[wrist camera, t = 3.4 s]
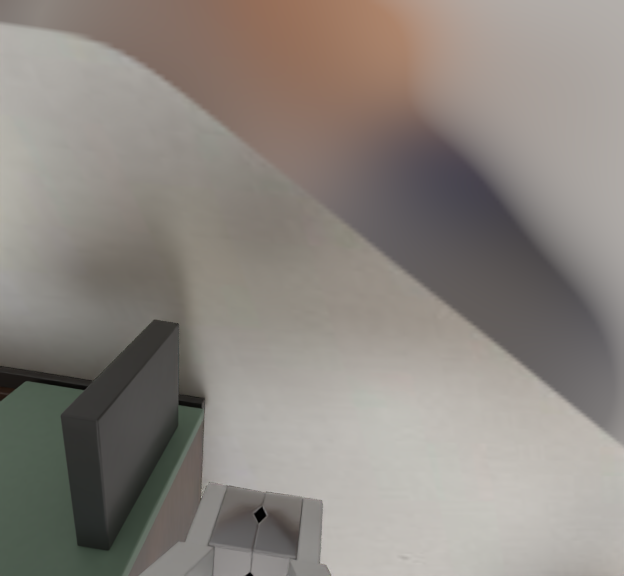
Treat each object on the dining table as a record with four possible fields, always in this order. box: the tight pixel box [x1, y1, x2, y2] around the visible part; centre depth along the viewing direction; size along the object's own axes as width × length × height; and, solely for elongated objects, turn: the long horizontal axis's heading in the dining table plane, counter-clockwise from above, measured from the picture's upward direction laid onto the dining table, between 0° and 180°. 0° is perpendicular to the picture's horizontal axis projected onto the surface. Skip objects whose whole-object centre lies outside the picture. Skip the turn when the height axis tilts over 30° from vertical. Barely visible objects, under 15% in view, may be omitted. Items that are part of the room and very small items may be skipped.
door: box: [0, 320, 204, 576], centre depth 13 cm, size 6×8×11 cm, turn 82°
